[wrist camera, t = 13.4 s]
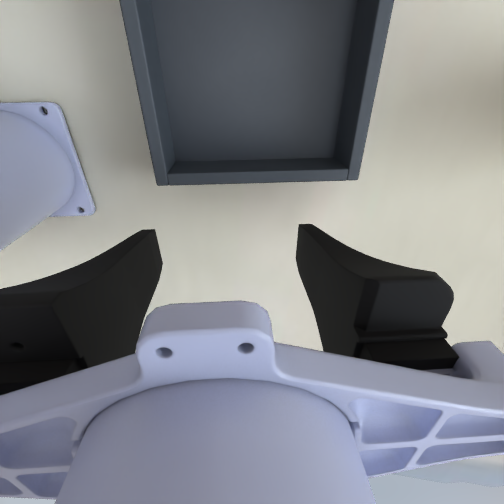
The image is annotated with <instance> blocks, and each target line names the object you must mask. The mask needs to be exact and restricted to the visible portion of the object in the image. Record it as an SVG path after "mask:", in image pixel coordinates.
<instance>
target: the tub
mask: <svg viewBox="0 0 504 504" xmlns="http://www.w3.org/2000/svg"><path fill="white" fill-rule="evenodd" d="M119 1H120V6H121V11H122V16H123V21H124V26H125V30H126V35H127V40H128V45H129V50H130V55H131V60H132V65H133V70H134V75H135V80H136V85H137V90H138V94H139V99H140V104H141V109H142V114H143V119H144V124H145V129H146V134H147V139H148V144H149V149H150V154H151V158H152V163H153V168H154V173H155V178H156V183H157V185H158V186H165V185H204V184H240V183H275V182H311V181H345V180H358V177H359V172H360V167H361V162H362V157H363V152H364V147H365V142H366V137H367V132H368V127H369V122H370V117H371V112H372V107H373V102H374V97H375V92H376V87H377V82H378V77H379V73H380V68H381V63H382V58H383V53H384V48H385V43H386V38H387V33H388V28H389V23H390V18H391V13H392V8H393V3H394V0H119Z"/></svg>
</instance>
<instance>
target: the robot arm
mask: <svg viewBox="0 0 504 504" xmlns="http://www.w3.org/2000/svg"><path fill="white" fill-rule="evenodd" d="M43 107H45V108H46V109H47V111H48V114H47V115H46V114H45V113H44V112H43V109H42V108H43ZM79 207H82V208H83V209H84V211H82V210H80V208H79ZM95 211H96V209H95V205H94V203H93V200H92V197H91V194H90V191H89V188H88V185H87V182H86V179H85V176H84V173H83V171H82V168H81V165H80V162H79V159H78V156H77V153H76V150H75V147H74V144H73V141H72V139H71V136H70V133H69V130H68V127H67V124H66V121H65V118H64V115H63V112H62V110H61V108H60V106H59V105H58V104H56V103H54V102H10V103H0V251H1V250H3V249H4V248H5V247H7V246H8V245H10V244H11V243H12V242H14V241H15V240H17V239H18V238H19V237H21V236H22V235H24V234H25V233H26V232H28V231H29V230H30V229H32V228H33V227H35V226H36V225H37V224H39V223H40V222H42V221H43V220H44V219H46V218H47V217H55V216H86V215H92V214H93V213H94V212H95ZM296 262H297V266H298V271H299V274H300V277H301V280H302V282H303V285H304V287H305V290H306V292H307V295H308V298H309V300H310V303H311V305H312V308H313V311H314V314H315V318H316V322H317V326H318V329H319V334H320V338H321V342H322V346H323V351H324V352H323V351H318V350H313V349H308V348H303V347H297V346H292V345H287V344H282V343H277V342H274V339H273V332H272V326H271V320H270V318H269V315H268V312H267V310H265V309H264V308H262V307H261V306H260V305H258V304H257V303H252V302H246V301H223V302H201V303H180V304H169V305H165V306H161V307H157V308H155V309H154V310H153V311H152V312H151V313H150V314H149V315H148V316H147V317H146V320H145V322H144V325H143V328H142V330H141V327H142V323H143V320H144V317H145V314H146V312H147V309H148V307H149V304H150V302H151V299H152V297H153V294H154V292H155V289H156V287H157V284H158V281H159V278H160V274H161V270H162V265H163V262H162V258H161V254H160V249H159V245H158V240H157V236H156V232H155V229H151V230H141V231H139V232H137V233H135V234H134V235H132V236H130V237H129V238H127V239H125V240H124V241H122V242H121V243H119V244H117V245H116V246H114V247H113V248H111V249H109V250H107V251H105V252H104V253H102V254H100V255H98V256H97V257H95V258H93V259H91V260H89V261H86V262H84V263H82V264H80V265H78V266H75V267H73V268H70V269H68V270H65V271H62V272H60V273H57V274H54V275H51V276H48V277H45V278H42V279H39V280H35V281H32V282H28V283H24V284H20V285H16V286H12V287H7V288H3V289H0V497H14V498H36V499H56V502H55V504H376V501H375V498H374V495H373V492H372V489H371V486H370V483H369V480H368V478H373V477H378V476H383V475H388V474H392V473H397V472H402V471H407V470H412V469H417V468H421V467H426V466H431V465H436V464H441V463H447V462H452V461H457V460H463V459H470V458H477V457H484V456H494V455H504V354H503V353H502V352H501V351H500V350H499V349H498V348H497V347H496V346H495V345H494V344H493V343H492V342H491V341H475V342H461V343H457V344H455V345H453V346H452V347H451V346H450V345H449V344H448V343H447V341H446V340H445V339H444V338H447V336H448V335H447V333H446V331H445V330H444V329H443V328H442V327H441V326H442V324H443V322H444V320H445V318H446V316H447V314H448V312H449V311H450V309H451V306H452V303H453V300H454V293H453V291H452V289H451V287H450V286H449V285H448V284H447V283H446V282H445V281H444V280H443V279H442V278H441V277H440V276H439V275H438V274H437V273H435V272H431V271H425V270H419V269H414V268H408V267H404V266H400V265H396V264H392V263H389V262H385V261H382V260H379V259H376V258H373V257H371V256H368V255H365V254H363V253H361V252H359V251H356V250H354V249H352V248H350V247H348V246H346V245H345V244H343V243H341V242H339V241H337V240H336V239H334V238H333V237H331V236H329V235H328V234H326V233H325V232H323V231H322V230H320V229H319V228H317V227H316V226H314V225H312V224H299V228H298V239H297V250H296ZM140 331H141V333H140ZM139 334H140V336H139ZM138 338H139V339H138ZM135 351H136V353H135Z"/></svg>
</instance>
